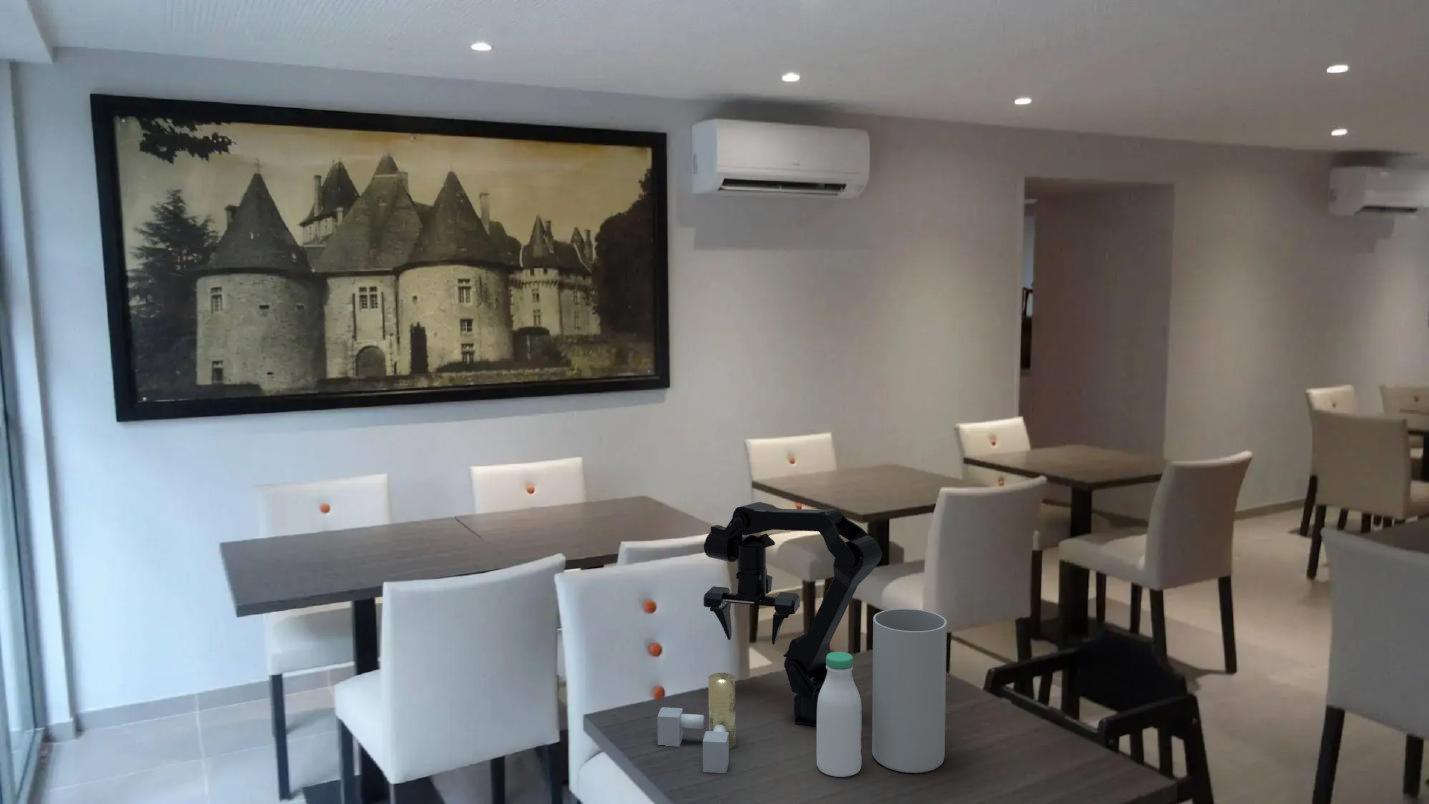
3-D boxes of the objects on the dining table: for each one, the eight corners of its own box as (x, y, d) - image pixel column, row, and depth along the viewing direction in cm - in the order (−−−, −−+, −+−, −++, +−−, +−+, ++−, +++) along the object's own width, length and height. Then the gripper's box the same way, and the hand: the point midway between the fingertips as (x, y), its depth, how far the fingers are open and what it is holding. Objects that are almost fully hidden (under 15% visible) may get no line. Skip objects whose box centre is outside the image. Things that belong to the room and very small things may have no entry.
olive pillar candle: (730, 736, 180) (729, 671, 179) (739, 747, 176) (738, 680, 174) (705, 739, 179) (705, 674, 177) (713, 751, 174) (713, 684, 173)
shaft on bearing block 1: (657, 745, 177) (657, 716, 176) (661, 735, 181) (661, 707, 180) (701, 747, 176) (701, 718, 175) (704, 737, 180) (704, 709, 179)
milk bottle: (860, 780, 163) (861, 665, 161) (814, 776, 165) (814, 662, 163) (862, 759, 171) (863, 648, 169) (818, 755, 172) (819, 646, 170)
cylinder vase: (902, 781, 163) (903, 636, 160) (857, 751, 174) (858, 615, 171) (959, 764, 169) (962, 624, 166) (913, 736, 180) (915, 604, 177)
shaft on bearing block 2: (726, 773, 166) (726, 742, 166) (703, 771, 167) (702, 741, 166) (731, 752, 174) (730, 723, 173) (708, 751, 174) (708, 722, 174)
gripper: (805, 559, 199) (805, 632, 201) (718, 552, 205) (718, 624, 206) (793, 573, 189) (793, 651, 190) (702, 566, 194) (702, 642, 196)
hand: (751, 641), depth 196 cm, fingers open, 9 cm apart
